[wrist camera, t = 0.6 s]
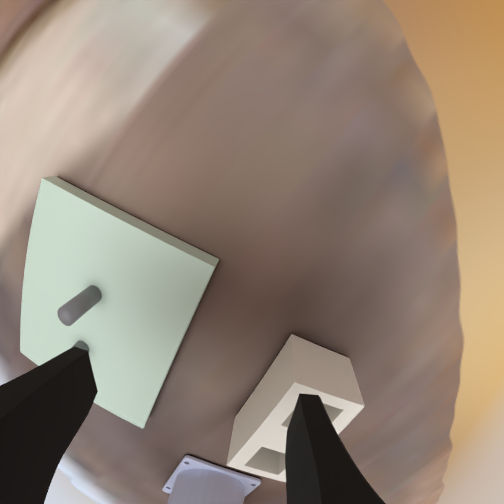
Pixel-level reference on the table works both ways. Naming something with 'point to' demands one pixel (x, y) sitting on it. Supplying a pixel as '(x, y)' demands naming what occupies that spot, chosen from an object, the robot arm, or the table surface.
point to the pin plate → (108, 294)
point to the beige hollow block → (291, 404)
